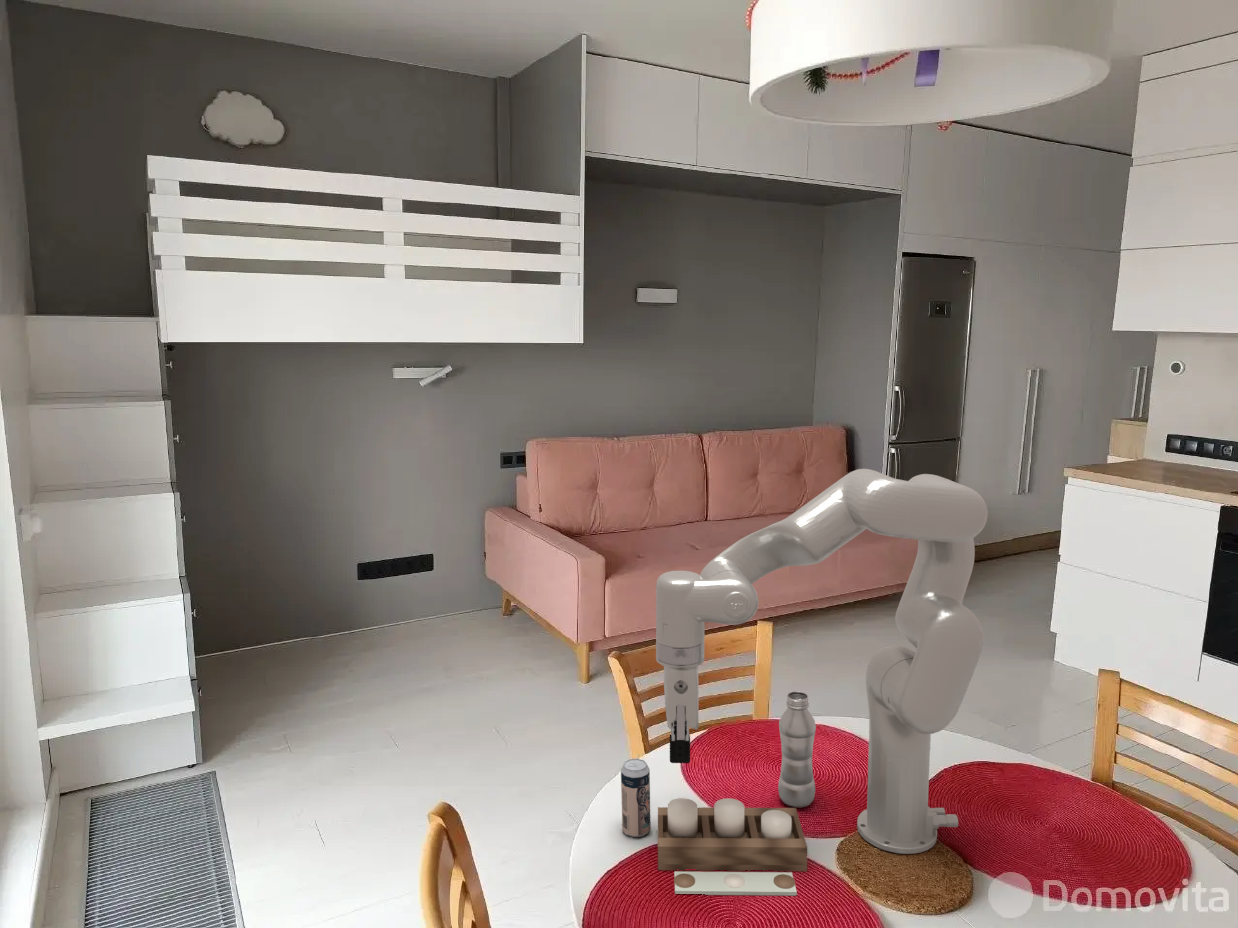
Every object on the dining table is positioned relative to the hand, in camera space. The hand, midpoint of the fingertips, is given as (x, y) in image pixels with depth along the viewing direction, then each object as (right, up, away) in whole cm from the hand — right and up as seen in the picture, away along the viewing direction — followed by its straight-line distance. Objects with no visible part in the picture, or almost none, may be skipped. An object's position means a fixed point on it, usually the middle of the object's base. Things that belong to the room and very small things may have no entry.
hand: (679, 760), depth 136 cm
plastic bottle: (+22, -13, +15) cm, 30 cm away
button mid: (+8, -12, +2) cm, 15 cm away
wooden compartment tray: (+8, -15, +2) cm, 17 cm away
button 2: (+16, -14, +2) cm, 21 cm away
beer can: (-7, -15, +8) cm, 18 cm away
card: (+8, -17, -7) cm, 19 cm away
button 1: (+1, -12, +2) cm, 12 cm away
